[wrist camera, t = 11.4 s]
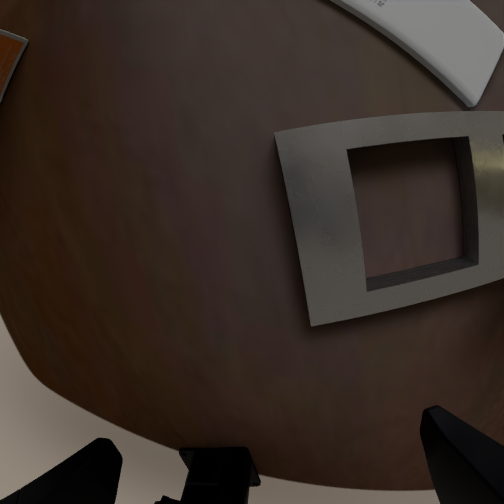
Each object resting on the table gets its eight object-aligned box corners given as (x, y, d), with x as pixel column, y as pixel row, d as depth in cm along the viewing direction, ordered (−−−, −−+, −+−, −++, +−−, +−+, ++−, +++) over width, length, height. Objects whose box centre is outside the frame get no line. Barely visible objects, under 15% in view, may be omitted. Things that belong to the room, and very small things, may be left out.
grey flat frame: (572, 241, 17) (586, 246, 15) (308, 311, 20) (310, 326, 18) (565, 117, 14) (579, 117, 12) (274, 136, 17) (274, 132, 15)
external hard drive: (464, 109, 16) (314, -4, 15) (497, 41, 14) (367, -59, 13) (476, 106, 15) (316, -16, 14) (508, 36, 12) (372, -70, 11)
